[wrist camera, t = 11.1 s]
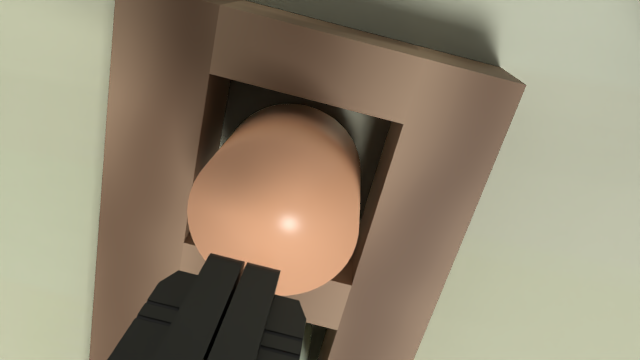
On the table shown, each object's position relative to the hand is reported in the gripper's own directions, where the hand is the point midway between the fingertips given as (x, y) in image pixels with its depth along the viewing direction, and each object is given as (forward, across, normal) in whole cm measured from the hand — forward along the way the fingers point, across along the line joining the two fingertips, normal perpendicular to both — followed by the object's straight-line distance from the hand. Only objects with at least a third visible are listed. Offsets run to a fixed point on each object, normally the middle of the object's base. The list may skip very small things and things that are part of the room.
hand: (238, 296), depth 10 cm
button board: (+9, 0, +8) cm, 12 cm away
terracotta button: (+7, 0, 0) cm, 7 cm away
